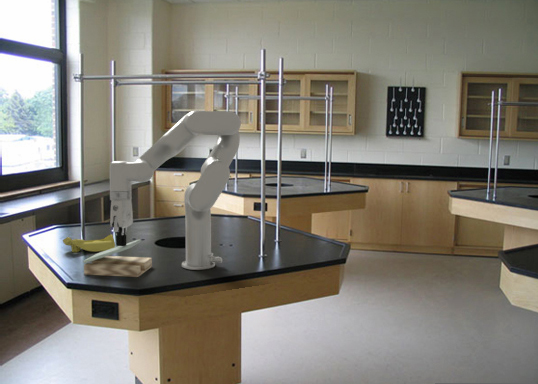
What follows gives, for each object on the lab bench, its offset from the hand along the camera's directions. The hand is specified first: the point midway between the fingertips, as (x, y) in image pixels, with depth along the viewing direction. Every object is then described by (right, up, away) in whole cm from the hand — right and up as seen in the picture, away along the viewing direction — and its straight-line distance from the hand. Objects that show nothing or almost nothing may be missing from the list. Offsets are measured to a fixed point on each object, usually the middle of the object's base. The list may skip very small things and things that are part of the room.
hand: (121, 245), depth 198 cm
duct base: (-1, -9, +1) cm, 10 cm away
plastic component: (-23, -6, +34) cm, 41 cm away
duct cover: (-3, -3, +1) cm, 4 cm away
